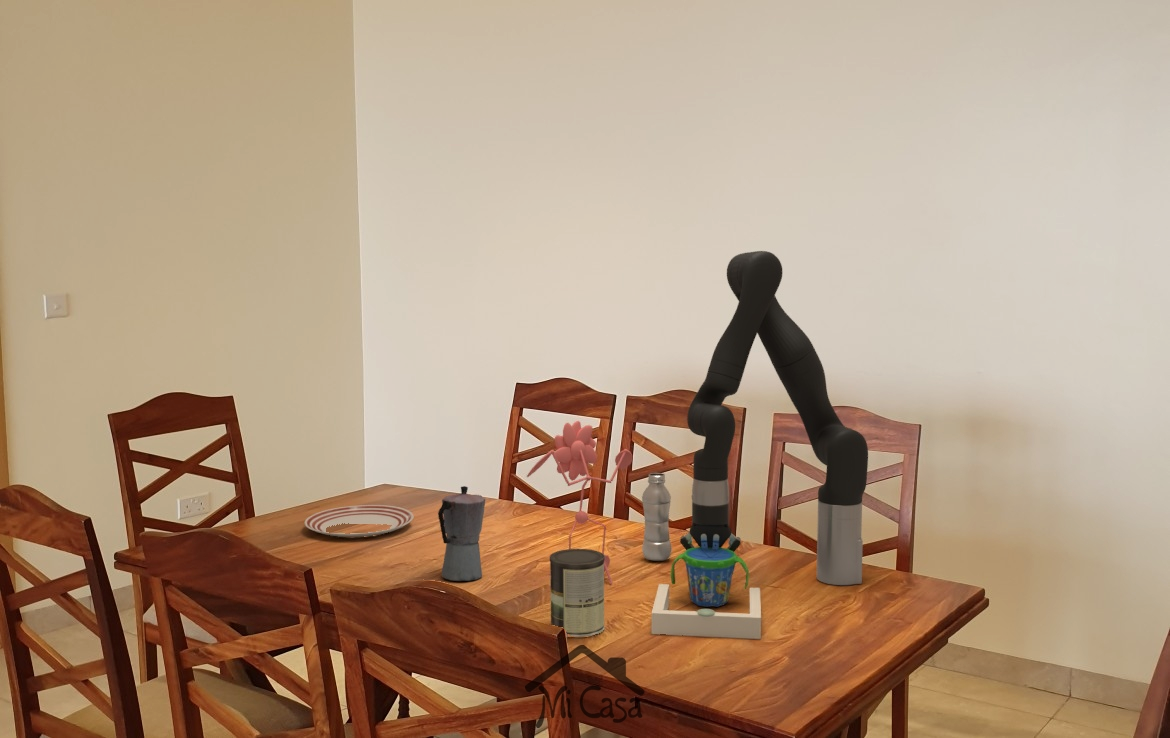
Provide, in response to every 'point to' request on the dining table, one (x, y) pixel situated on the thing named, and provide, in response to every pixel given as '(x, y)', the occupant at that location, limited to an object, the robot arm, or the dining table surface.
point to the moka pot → (461, 535)
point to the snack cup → (709, 574)
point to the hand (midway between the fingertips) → (710, 582)
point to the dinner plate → (359, 518)
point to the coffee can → (577, 591)
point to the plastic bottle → (656, 519)
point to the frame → (705, 619)
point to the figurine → (580, 466)
